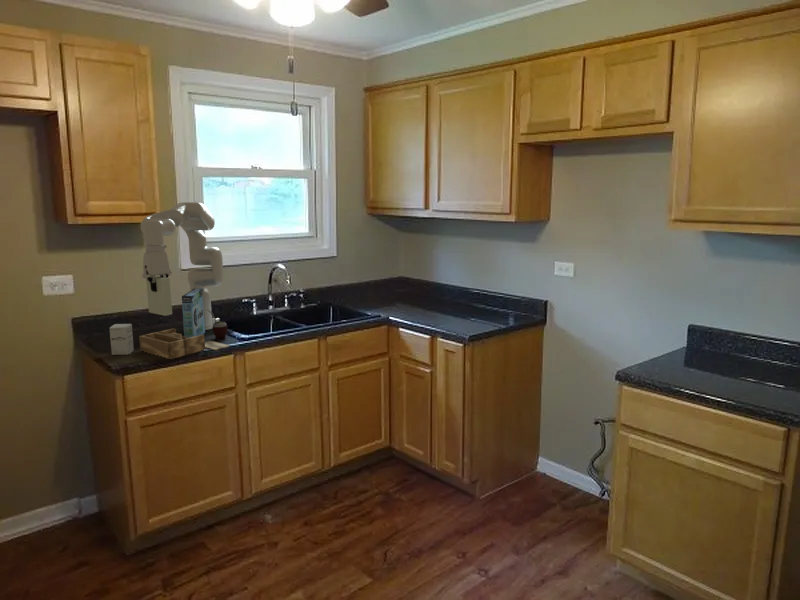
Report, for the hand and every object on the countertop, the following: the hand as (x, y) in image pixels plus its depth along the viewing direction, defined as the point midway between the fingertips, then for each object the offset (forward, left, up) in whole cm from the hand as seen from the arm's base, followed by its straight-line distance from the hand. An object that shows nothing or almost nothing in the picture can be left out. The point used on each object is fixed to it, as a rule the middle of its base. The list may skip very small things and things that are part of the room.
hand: (158, 290), depth 258 cm
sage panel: (0, 0, -10) cm, 10 cm away
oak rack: (-5, 0, -28) cm, 29 cm away
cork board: (-20, +9, -28) cm, 36 cm away
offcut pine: (-8, -4, -25) cm, 27 cm away
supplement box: (+10, -15, -29) cm, 34 cm away
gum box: (-25, -11, -29) cm, 39 cm away
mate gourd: (-30, +1, -29) cm, 42 cm away
